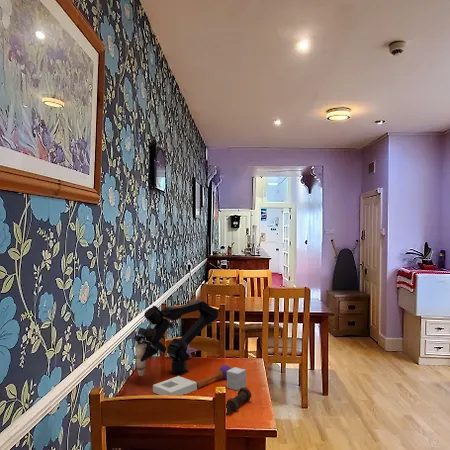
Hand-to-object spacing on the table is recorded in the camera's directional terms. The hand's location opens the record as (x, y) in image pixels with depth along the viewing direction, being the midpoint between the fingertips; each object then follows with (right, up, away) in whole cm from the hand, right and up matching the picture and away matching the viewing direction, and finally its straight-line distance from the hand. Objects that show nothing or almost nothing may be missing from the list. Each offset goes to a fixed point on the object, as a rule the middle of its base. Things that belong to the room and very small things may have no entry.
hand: (138, 360), depth 179 cm
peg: (+1, -7, +1) cm, 7 cm away
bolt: (+42, -10, -24) cm, 50 cm away
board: (+17, -10, -7) cm, 21 cm away
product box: (+43, -10, -4) cm, 45 cm away
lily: (+17, -11, +34) cm, 40 cm away
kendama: (+33, -11, +2) cm, 35 cm away
